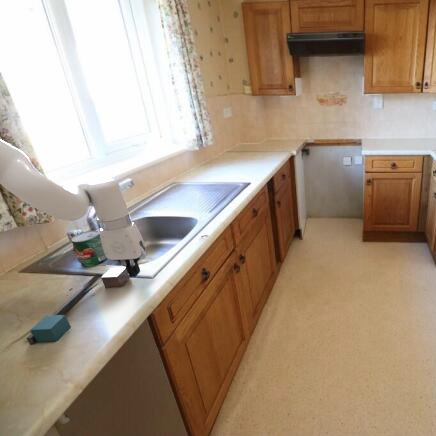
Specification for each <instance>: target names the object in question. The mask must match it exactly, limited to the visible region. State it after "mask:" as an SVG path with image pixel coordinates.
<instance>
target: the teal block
mask: <svg viewBox="0 0 436 436" xmlns="http://www.w3.org/2000/svg"><path fill="white" fill-rule="evenodd" d="M71 327H72V326H71V323H70V322H69V320H68V318H67V316H66V314H65V315H54V316H51V315H44V317H43V318H42V319H41V320H39V321H38V322H37V323H36V324H35V325H34V326H33V327H31V328H30V334H33V336H34V338H35V340H36V341H37V342H36V343H45V342H46V343H47V342H58V341H59V340H60V339H61V337H62V336H64V335H65V334H66V332H67V331H68V330H69V329H70V328H71Z"/></svg>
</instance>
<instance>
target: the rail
mask: <svg viewBox="0 0 436 436" xmlns="http://www.w3.org/2000/svg"><path fill="white" fill-rule="evenodd" d="M101 277H102V276H101V274H100V273H97V274H95V275H94V276H93V277H91V279H89V280H88V281H87V282H86V283H85V284H84V285H83V286H82V287H81V288H80V289H78V291H76V292H75V293H74V294H73V295H72V296H71V297H70V298H69V299H68V300H67V301H65V302H64V303H63V304H62V305H61V306H60V307H59V308H58V309H56V310H55V311H54V312H53V313H52V314H51V315H50V316H54V315H65V316H66V314H67V313H68V312H70V310H72V309H73V308H74V307H75V306H76V305H77V304H78V303H79V302H80V301H81V300H82V299H83V298H84V297H85V296H86V295H87V294H88V293H89V292H90V291H92V290H93V289H94V287H95V284H96V282H98V280H99V279H101ZM26 340H27V342H28V344H29V345H35V344H37V343H38V342H37V341H36V340H35V338H34V336H33V334H32V333H30V334H29V335H28V336H27V337H26Z"/></svg>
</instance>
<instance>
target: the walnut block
mask: <svg viewBox="0 0 436 436" xmlns="http://www.w3.org/2000/svg"><path fill="white" fill-rule="evenodd" d="M130 278H131V277H129V274H128V272H127V269H126V267H111V268H109V269H107V270H106V272H105V273H104V274H102V276H101V277H100V280H101V282H102V284H103V286H104V289H116V288H118V289H120V288H122V287H123V286H124V285H125V284H126V283H127V282H128V280H129V279H130Z"/></svg>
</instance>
